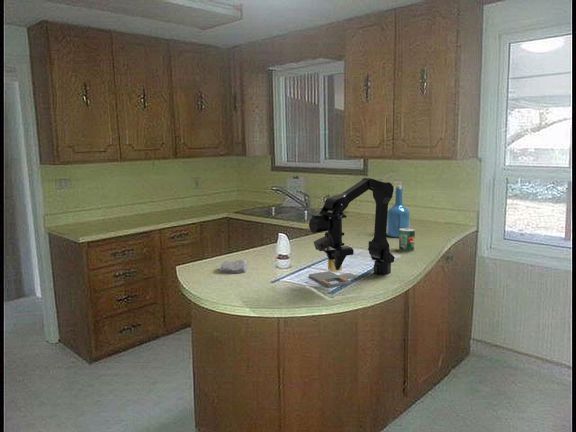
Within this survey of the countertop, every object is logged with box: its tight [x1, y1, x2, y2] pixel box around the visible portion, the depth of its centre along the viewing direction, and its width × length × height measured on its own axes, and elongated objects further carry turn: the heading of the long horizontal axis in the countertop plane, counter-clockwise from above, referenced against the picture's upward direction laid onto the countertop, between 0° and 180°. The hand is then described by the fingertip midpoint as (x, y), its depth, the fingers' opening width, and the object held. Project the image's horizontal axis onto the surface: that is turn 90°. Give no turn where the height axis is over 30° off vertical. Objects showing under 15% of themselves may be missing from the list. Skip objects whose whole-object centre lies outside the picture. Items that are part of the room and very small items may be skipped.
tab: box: [338, 272, 359, 280], centre depth 196 cm, size 6×7×1 cm
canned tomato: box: [398, 227, 416, 253], centre depth 243 cm, size 8×8×11 cm
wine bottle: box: [386, 185, 411, 239], centre depth 278 cm, size 14×13×30 cm
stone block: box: [220, 259, 248, 274], centre depth 212 cm, size 12×5×10 cm
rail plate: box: [308, 270, 352, 289], centre depth 191 cm, size 10×17×2 cm, turn 24°
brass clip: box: [327, 259, 343, 273], centre depth 186 cm, size 4×4×4 cm
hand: (334, 268), depth 186 cm, fingers closed on brass clip, 4 cm apart
